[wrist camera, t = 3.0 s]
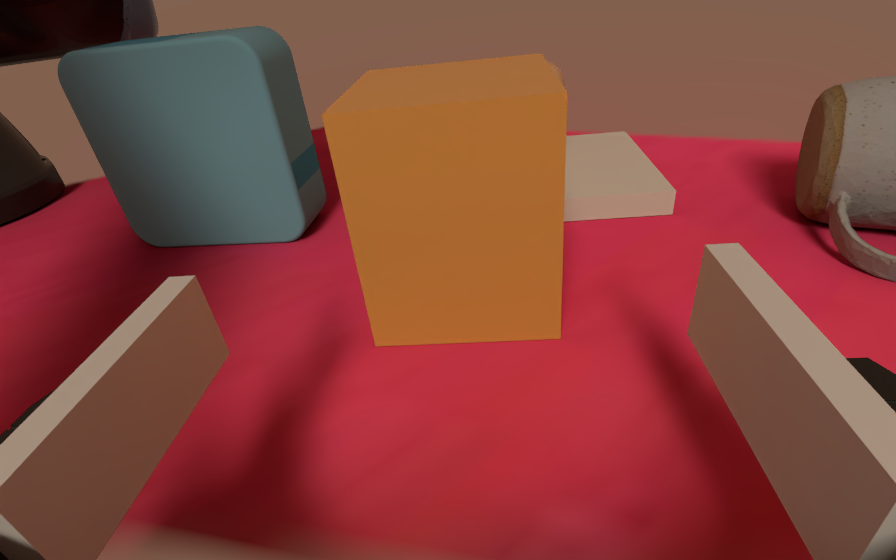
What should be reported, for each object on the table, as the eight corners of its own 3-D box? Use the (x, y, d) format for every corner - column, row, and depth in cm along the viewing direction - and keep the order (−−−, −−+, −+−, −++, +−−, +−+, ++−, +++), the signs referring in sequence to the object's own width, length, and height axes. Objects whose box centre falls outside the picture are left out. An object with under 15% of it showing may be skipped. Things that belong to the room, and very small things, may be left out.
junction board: (375, 233, 31) (349, 103, 27) (401, 167, 41) (385, 64, 37) (672, 214, 29) (694, 70, 25) (623, 150, 39) (633, 39, 35)
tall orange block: (375, 346, 22) (321, 114, 16) (400, 255, 28) (368, 70, 23) (560, 338, 21) (567, 92, 15) (541, 247, 28) (541, 53, 22)
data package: (332, 212, 35) (285, 22, 28) (310, 243, 31) (251, 32, 25) (178, 219, 37) (101, 42, 30) (140, 249, 33) (42, 54, 26)
